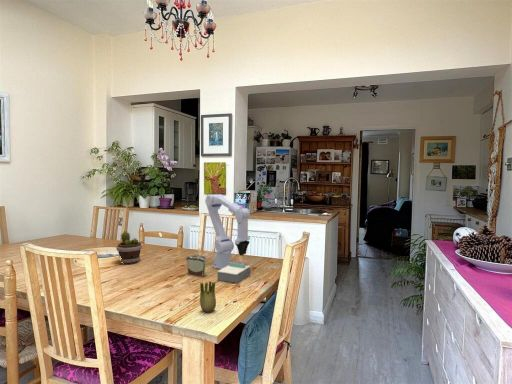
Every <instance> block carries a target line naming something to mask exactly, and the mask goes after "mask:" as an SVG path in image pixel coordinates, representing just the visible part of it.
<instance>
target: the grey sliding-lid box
mask: <svg viewBox="0 0 512 384" xmlns="http://www.w3.org/2000/svg"><path fill="white" fill-rule="evenodd" d="M249 276H251V266H250V267H249V268H248V269H246V270H244V271H243V272H241V273H239V274H238V275H233V274H227V273H221V272H218V271H217V282H218V281H219V282H224V283H228V284H234V285H237V284H239V283H240V282H241V281H243V280H245V279H246V278H248V277H249Z"/></svg>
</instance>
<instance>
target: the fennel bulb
mask: <svg viewBox="0 0 512 384" xmlns="http://www.w3.org/2000/svg"><path fill="white" fill-rule="evenodd" d="M199 284H200V291H199V292H200V293H199V294H200V295H199V304H200V308H201V310H202V311H203V312H205V313H211V312H213V311H214V310H215V309H216V306H217V305H216V304H217V301H216V299H217V298H216V291H215V289H216V282H215V281H212V280H208V281H205V282H203V281H202V282H201V281H200V283H199Z"/></svg>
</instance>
